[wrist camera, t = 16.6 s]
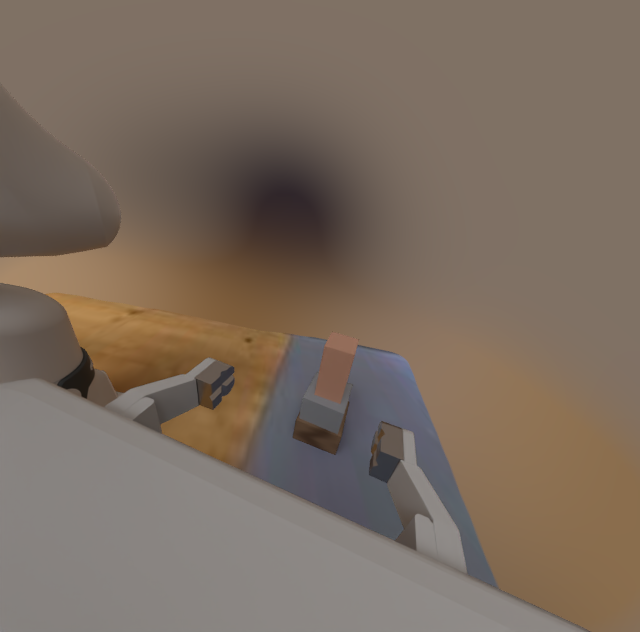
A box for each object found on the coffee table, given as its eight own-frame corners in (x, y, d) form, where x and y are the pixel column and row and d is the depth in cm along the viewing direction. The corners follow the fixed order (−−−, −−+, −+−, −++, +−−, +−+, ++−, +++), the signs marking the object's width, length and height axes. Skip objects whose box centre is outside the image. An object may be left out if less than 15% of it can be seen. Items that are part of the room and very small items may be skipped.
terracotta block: (314, 394, 37) (324, 345, 33) (321, 377, 41) (332, 331, 37) (340, 404, 37) (354, 355, 32) (345, 385, 41) (358, 339, 36)
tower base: (292, 438, 41) (295, 419, 38) (307, 405, 48) (311, 388, 45) (335, 455, 39) (341, 437, 37) (344, 418, 46) (349, 401, 44)
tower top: (299, 418, 39) (302, 397, 37) (313, 390, 45) (317, 371, 43) (337, 434, 37) (344, 413, 35) (346, 403, 43) (352, 384, 41)
